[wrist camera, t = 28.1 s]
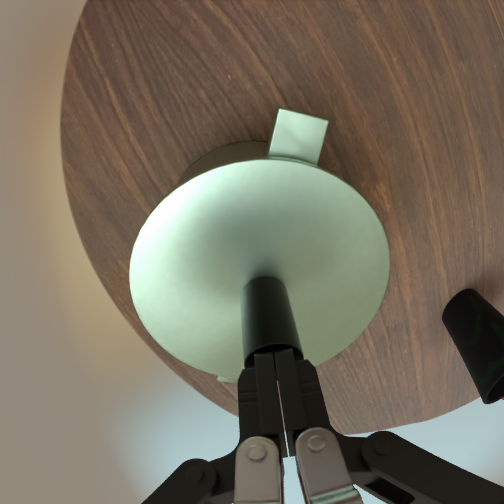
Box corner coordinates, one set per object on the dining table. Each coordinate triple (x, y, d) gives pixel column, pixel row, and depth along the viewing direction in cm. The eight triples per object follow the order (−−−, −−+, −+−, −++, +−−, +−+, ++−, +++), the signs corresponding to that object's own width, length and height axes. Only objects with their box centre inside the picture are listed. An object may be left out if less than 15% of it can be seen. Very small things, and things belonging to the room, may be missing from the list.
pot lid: (136, 351, 19) (118, 422, 14) (143, 131, 12) (91, 158, 7) (332, 370, 21) (352, 436, 16) (416, 190, 15) (482, 239, 10)
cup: (457, 335, 33) (501, 402, 22) (423, 327, 31) (471, 406, 21) (491, 289, 29) (546, 352, 19) (461, 273, 28) (526, 347, 17)
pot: (162, 304, 27) (144, 378, 19) (187, 90, 18) (160, 88, 11) (297, 322, 29) (316, 394, 21) (361, 129, 20) (425, 154, 13)
